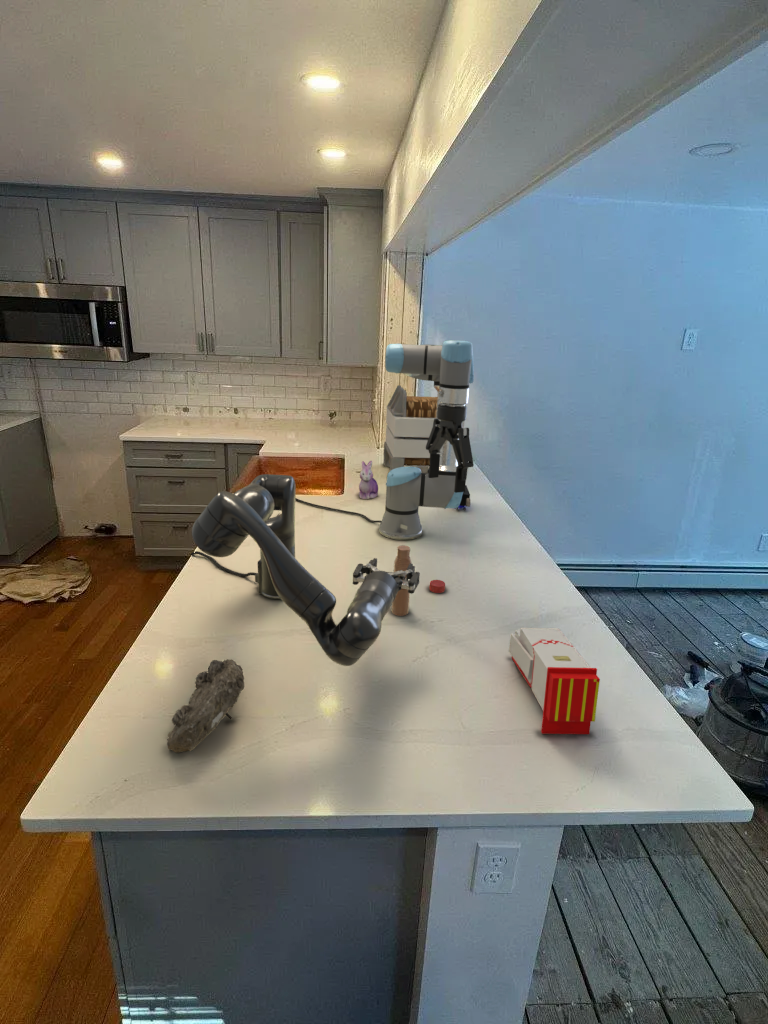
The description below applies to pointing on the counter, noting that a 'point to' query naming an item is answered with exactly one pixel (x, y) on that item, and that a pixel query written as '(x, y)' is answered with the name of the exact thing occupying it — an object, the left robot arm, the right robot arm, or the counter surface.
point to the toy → (557, 679)
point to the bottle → (402, 563)
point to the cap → (437, 586)
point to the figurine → (367, 482)
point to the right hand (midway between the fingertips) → (445, 484)
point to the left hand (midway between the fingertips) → (393, 564)
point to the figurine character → (465, 499)
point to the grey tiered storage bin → (408, 429)
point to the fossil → (206, 705)
